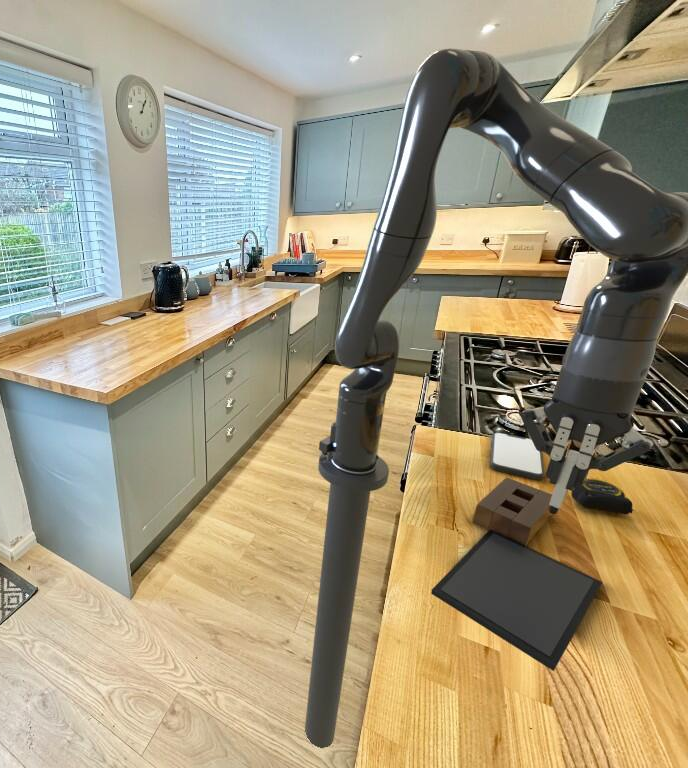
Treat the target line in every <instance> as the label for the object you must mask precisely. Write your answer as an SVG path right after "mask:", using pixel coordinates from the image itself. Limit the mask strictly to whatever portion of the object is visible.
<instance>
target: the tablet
mask: <svg viewBox="0 0 688 768" xmlns="http://www.w3.org/2000/svg"><path fill="white" fill-rule="evenodd" d="M602 585H603V581H601V580H599V579H597V578H595V577H593V576H591V575H589V574H586V573H584V572H582V571H580V570H578V569H576V568H575V567H571V566H569V565H568V564H565V563H564V562H562V561H559V560H557V559H554V558H553V557H550V556H549V555H547V554H544V553H542V552H540V551H538V550H536V549H533V548H531V547H529V546H528V545H526V546H525V545H523V544H521V543H518V542H516V541H514V540H512V539H510V538H508V537H506V536H504V535H501V534H499V533H497V532H495V531H493V530H491V529H490V530H487V531H486V533H485V534H484V535H483V536H481V538H480V539H478V541H477V542H476V543H475V544H474V545H473V546H472V547H471V548H470V549H469V550H468V551H467V552H466V553H465V555H463V556H462V558H460V559H459V561H457V563H456V564H455V565H454V566H452V568H451V569H450V570H449V571H448V572H447V573H446V574H445V575H444V576H443V577H441V579H439V581H438V582H437V583H436V584H435V585H434V586H433V588H431V592H430V594H431V595H432V596H434V597H436V598H437V599H439V600H441V601H442V602H444V603H445V604H446V605H448V606H450V607H451V608H453V609H454V610H456V611H458V612H460V614H462V615H464V616H466V617H467V618H469V619H470V620H471V621H474V622H475V623H477V624H478V625H480V626H481V627H483V628H485V629H486V630H488V631H489V632H491V633H493V634H494V635H495V636H497V637H499V638H500V639H502V640H503V641H505V642H507V643H508V644H510V645H511V646H513V647H514V648H516V649H518V650H519V651H521V652H522V653H524V654H525V655H527V656H529V657H530V658H532V659H533V660H535V661H537V662H538V663H540V664H542V665H543V666H544V667H546V668H548V669H549V670H551V671H552V672H554V671H555V670H556V668H557V667H558V664H559V663H560V661H561V659H562V657H563V655H564V654H565V652H566V650H567V648H568V646H569V645H570V643H571V641H572V639H573V638H574V635H575V634H576V632H577V630H578V629H579V627H580V625H581V623H582V622H583V620H584V618H585V617H586V614H587V612H588V610H589V609H590V607H591V605H592V603H593V602H594V599H595V598H596V597H597V594H598V593H599V591H600V589H601V587H602Z"/></svg>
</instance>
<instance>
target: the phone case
mask: <svg viewBox="0 0 688 768" xmlns="http://www.w3.org/2000/svg"><path fill="white" fill-rule="evenodd" d="M543 463H544V462H543V452H540V451H538V450H537V449H536V448H535V446H534V444H533V442H532V439H531V438H527V437H523V436H518V435H513V434H507V433H503V432H493V433H492V436H491V442H490V460H489V467H490V468H491V469H492V470H494V471H498V472H502V473H505V474H508V475H509V474H510V475H514V476H517V477H523V478H526V479H529V480H535V481H541V480H543V478H544V475H545V471H544V464H543Z"/></svg>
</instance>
